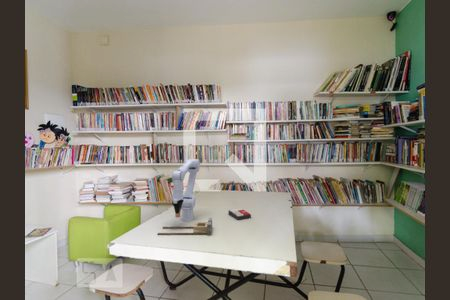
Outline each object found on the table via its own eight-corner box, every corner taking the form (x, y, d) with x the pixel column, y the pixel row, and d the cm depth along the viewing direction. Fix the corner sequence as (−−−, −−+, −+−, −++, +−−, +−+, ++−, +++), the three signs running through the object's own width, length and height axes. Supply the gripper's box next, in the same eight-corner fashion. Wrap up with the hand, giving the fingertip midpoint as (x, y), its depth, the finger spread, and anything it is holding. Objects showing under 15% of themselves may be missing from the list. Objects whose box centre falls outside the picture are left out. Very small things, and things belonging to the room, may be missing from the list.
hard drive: (237, 215, 143) (228, 209, 156) (237, 222, 143) (228, 214, 157) (251, 213, 147) (241, 207, 161) (251, 219, 148) (240, 212, 161)
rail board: (163, 229, 127) (163, 218, 127) (212, 229, 126) (212, 217, 127) (156, 238, 115) (156, 225, 115) (210, 237, 114) (210, 224, 115)
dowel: (176, 215, 128) (175, 202, 129) (180, 215, 128) (180, 202, 129) (174, 217, 125) (174, 204, 126) (179, 217, 125) (179, 204, 126)
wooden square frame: (195, 228, 125) (195, 222, 125) (208, 228, 125) (208, 222, 125) (193, 234, 117) (193, 227, 117) (207, 234, 116) (207, 227, 117)
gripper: (174, 188, 135) (174, 209, 134) (168, 192, 120) (168, 216, 120) (185, 188, 134) (185, 209, 134) (180, 192, 120) (180, 216, 120)
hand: (178, 212), depth 127 cm, fingers closed on dowel, 3 cm apart
